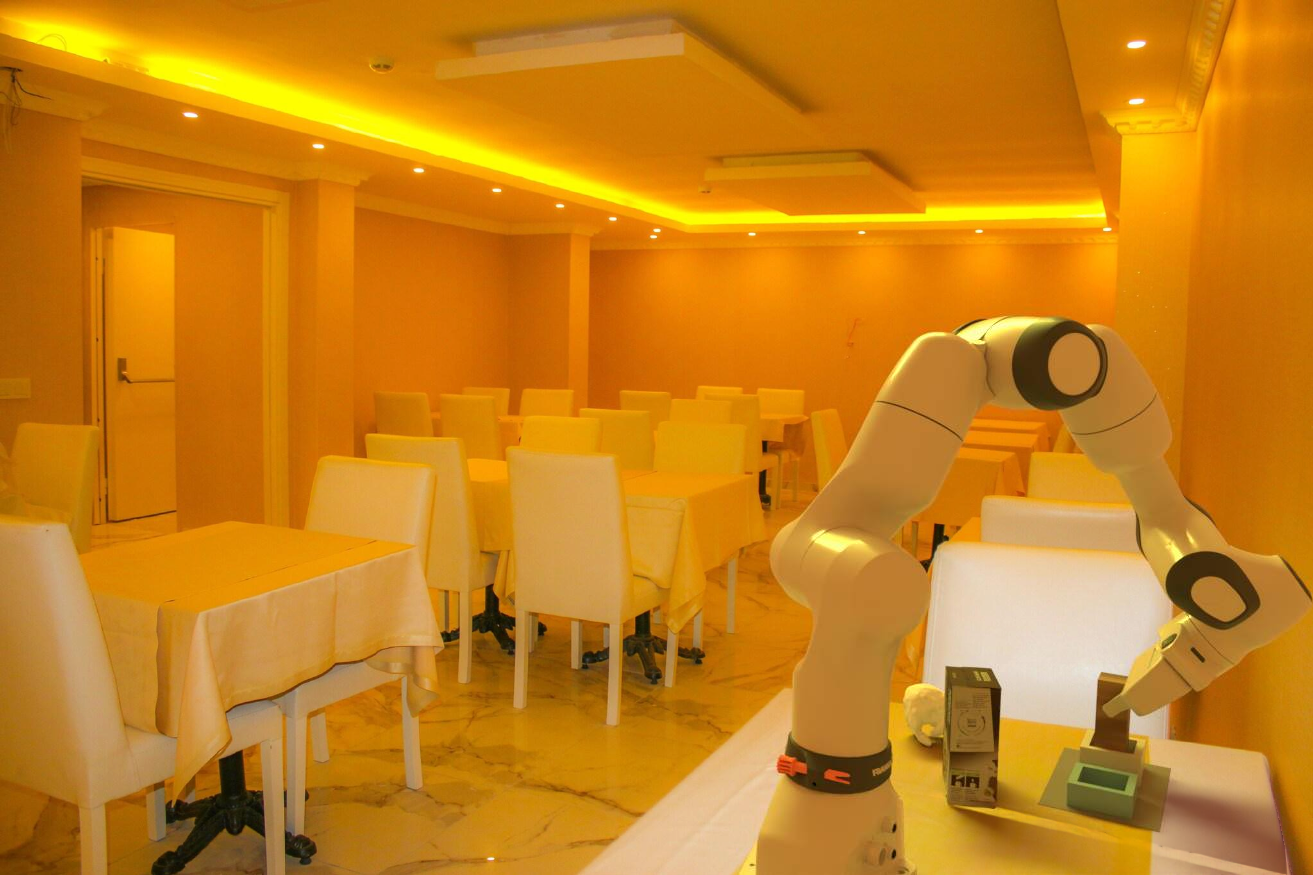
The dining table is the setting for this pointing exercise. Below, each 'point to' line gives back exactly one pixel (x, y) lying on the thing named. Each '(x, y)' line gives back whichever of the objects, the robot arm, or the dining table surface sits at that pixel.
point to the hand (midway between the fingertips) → (1108, 706)
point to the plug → (1111, 729)
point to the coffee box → (971, 735)
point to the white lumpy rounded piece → (924, 710)
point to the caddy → (1109, 784)
